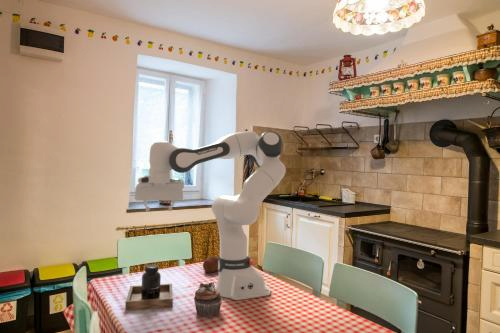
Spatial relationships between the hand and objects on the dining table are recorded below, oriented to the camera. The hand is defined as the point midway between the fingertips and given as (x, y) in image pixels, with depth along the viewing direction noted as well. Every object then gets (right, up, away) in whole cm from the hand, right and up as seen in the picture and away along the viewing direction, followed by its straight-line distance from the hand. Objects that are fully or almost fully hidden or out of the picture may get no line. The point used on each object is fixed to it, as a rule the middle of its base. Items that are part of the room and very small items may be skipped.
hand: (159, 210), depth 148 cm
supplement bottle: (+2, -31, -19) cm, 36 cm away
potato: (+21, -32, +18) cm, 42 cm away
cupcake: (+25, -32, -29) cm, 50 cm away
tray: (+2, -31, -19) cm, 36 cm away
